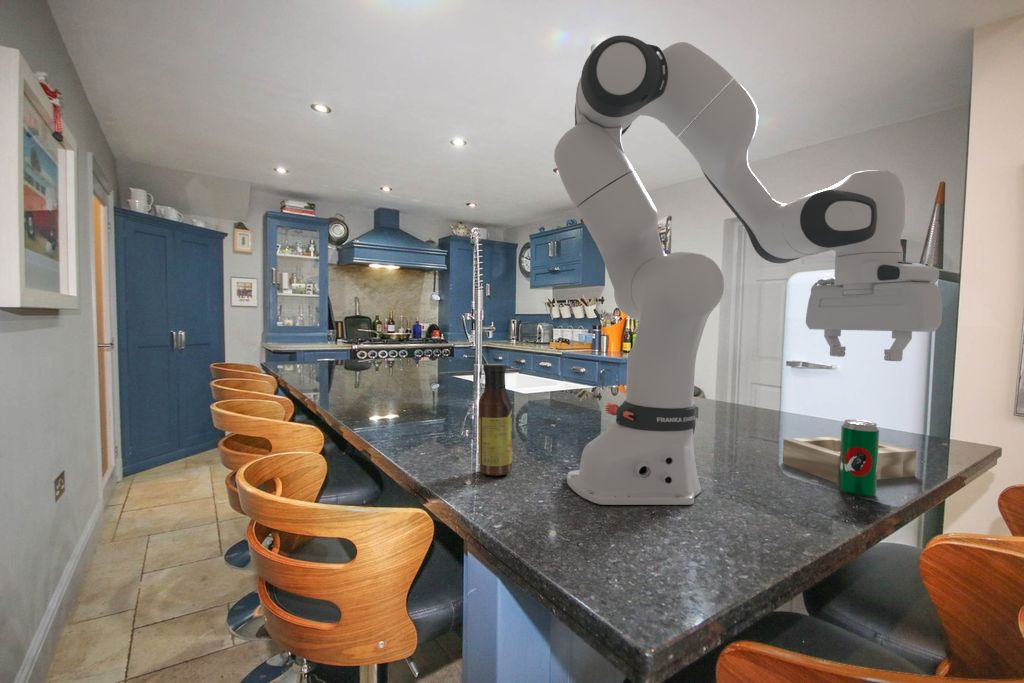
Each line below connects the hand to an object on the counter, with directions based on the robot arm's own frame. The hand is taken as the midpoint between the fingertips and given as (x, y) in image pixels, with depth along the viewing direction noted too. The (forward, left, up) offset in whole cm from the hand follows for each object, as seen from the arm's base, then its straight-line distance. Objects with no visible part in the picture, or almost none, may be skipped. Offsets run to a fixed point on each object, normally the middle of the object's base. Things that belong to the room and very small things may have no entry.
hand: (863, 358), depth 77 cm
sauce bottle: (-57, +23, -23) cm, 65 cm away
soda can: (0, 0, -23) cm, 23 cm away
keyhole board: (+10, +11, -23) cm, 27 cm away
